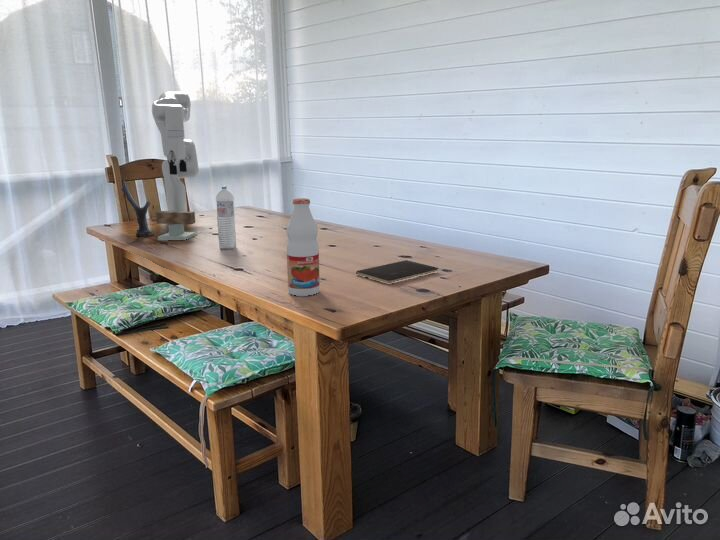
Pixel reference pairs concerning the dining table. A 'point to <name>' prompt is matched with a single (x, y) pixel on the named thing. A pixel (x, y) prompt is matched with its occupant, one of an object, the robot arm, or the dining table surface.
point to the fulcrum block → (176, 233)
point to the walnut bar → (175, 217)
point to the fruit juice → (302, 251)
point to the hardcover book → (396, 271)
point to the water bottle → (226, 219)
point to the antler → (138, 213)
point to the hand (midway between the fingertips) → (178, 173)
